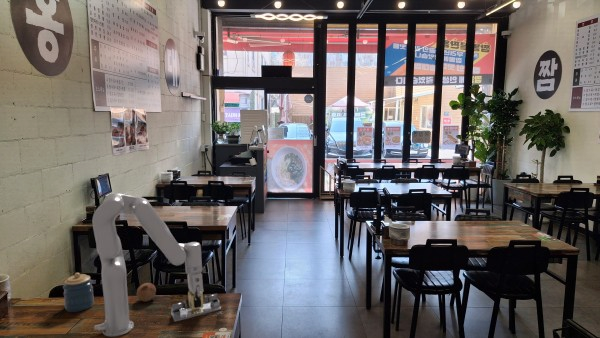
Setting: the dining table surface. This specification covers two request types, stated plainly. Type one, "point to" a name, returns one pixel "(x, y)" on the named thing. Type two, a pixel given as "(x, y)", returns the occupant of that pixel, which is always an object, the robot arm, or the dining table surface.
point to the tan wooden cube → (191, 300)
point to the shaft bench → (189, 313)
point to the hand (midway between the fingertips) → (195, 304)
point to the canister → (78, 293)
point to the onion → (146, 292)
